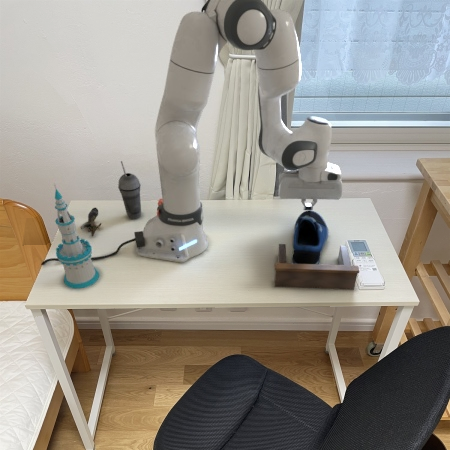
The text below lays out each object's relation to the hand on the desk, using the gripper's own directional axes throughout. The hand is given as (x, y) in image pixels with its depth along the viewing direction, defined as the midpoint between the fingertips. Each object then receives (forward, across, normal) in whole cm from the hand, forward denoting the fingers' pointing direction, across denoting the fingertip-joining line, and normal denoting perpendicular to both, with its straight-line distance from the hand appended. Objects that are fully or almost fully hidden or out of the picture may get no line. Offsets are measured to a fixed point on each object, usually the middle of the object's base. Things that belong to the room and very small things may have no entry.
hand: (307, 209), depth 152 cm
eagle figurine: (+4, -71, -9) cm, 72 cm away
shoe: (+4, 0, -15) cm, 16 cm away
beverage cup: (+4, -59, 0) cm, 59 cm away
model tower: (+4, -67, -34) cm, 75 cm away
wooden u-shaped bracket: (+4, 0, -29) cm, 29 cm away
